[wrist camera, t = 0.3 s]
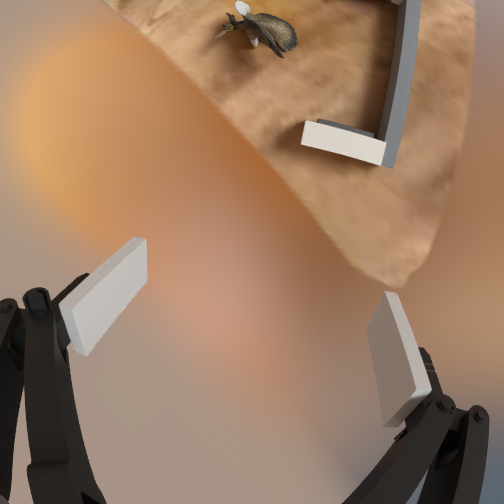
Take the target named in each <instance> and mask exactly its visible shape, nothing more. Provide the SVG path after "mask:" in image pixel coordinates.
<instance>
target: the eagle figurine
mask: <svg viewBox="0 0 504 504" xmlns="http://www.w3.org/2000/svg"><path fill="white" fill-rule="evenodd" d="M235 9H236V10H237V11H238V12H239V13H240V14H241V15H242V16H243V19H244V21H240V22H235V19H234V15H230V14H229V13H226V15H228V17H229V19H230V24H223V25H222V26H223V28H224V29H223V30H222V31H221V32H220V33H219V34H218V35H216V36H215V37H214V39H217V38H220V37H221V36H223V35H224V34H225V33H227V32H230V31H232V30H237V29H243V30H245V31H246V35H247V37H248V38H249V40H250V41H251V43H252V45H253V49H255V48H256V47H257V45H258V38H259V39H261V40H262V41H263V42H264V43H265V44H266V45H267V46H269V47H270V48H271V49H272V50H273V51H274V53H275V54H276V55H277V56H279V57H281V58H284V57H283V55H282V53H281V52H280V50H279V49H277V47H276V44H275V41H276V42H277V43H278V44H279V46H281V47H282V49H283V50H285V51H288V50H292V48H296V45H298V42H297V40H298V38H297V37H296V36H295V35H296V33H295V32H294V31H295V29H294V28H293V27H292V26H291V25H290V24H289V23H288V22H286V21H284V20H282V19H279V18H277V17H275V16H272V15H270V14H264V13H259V14H256V15H252V14H251V13H250V7H249V6H248V5H247V4H245V3H243V2H242V1H236V2H235ZM274 40H275V41H274Z"/></svg>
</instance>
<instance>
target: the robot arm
mask: <svg viewBox="0 0 504 504" xmlns="http://www.w3.org/2000/svg"><path fill="white" fill-rule="evenodd" d="M146 249H147V248H146V239H144V238H140V237H133V238H132V239H131V240H130V241H129V242H127V243H126V244H125V245H124V246H122V247H121V248H120V249H119V250H118V251H117V252H115V253H114V254H113V255H112V256H111V257H109V258H108V259H107V260H106V261H105V262H104V263H102V264H101V265H100V266H99V267H98V268H97V269H96V270H95V271H93V272H92V273H91V274H88V273H85V274H83V275H81V276H79V277H77V278H76V279H75V280H74V281H73V282H72V283H71V284H70V285H68V286H67V287H66V289H64V290H63V291H62V292H61V293H59V294H58V295H57V296H56V297H55V298H54V299H53V300H52V301H51V299H50V296H49V292H48V291H47V290H46V289H45V288H42V287H39V288H33V289H31V290H29V291H27V292H26V293H25V294H24V296H23V298H22V299H23V302H24V305H25V308H26V309H21V308H19V307H18V305H17V302H16V300H14V299H11V298H7V299H3V300H2V301H0V504H9V503H8V501H9V497H10V491H11V482H12V465H13V451H14V442H15V433H16V426H17V418H18V413H19V408H20V402H21V397H22V392H23V387H24V390H25V410H26V422H27V432H28V440H29V447H30V453H31V464H29V465H28V466H27V477H28V481H29V486H30V490H31V495H32V499H33V502H34V504H106V501H105V499H104V496H103V494H102V492H101V491H100V489H99V488H98V486H97V484H96V481H95V479H94V476H93V473H92V469H91V466H90V463H89V460H88V456H87V453H86V449H85V446H84V441H83V438H82V433H81V429H80V425H79V420H78V415H77V411H76V406H75V400H74V394H73V388H72V382H71V374H70V366H69V357H68V351H67V348H66V347H67V346H68V344H69V343H70V342H71V344H72V348H73V350H74V351H75V352H77V353H79V354H81V355H83V356H86V357H87V355H88V354H89V353H90V352H91V350H92V349H93V348H94V346H95V345H96V344H97V342H98V341H99V340H100V338H101V337H102V336H103V335H104V333H105V332H106V331H107V330H108V328H109V327H110V326H111V324H112V323H113V322H114V321H115V320H116V318H117V317H118V316H119V315H120V313H121V312H122V311H123V310H124V308H125V307H126V306H127V305H128V304H129V302H130V301H131V300H132V299H133V297H134V296H135V295H136V294H137V293H138V291H139V290H140V289H141V288H142V286H143V285H144V284H145V283H146V282H147V252H146V251H147V250H146ZM366 330H367V335H368V340H369V344H370V350H371V355H372V360H373V365H374V371H375V376H376V382H377V388H378V395H379V401H380V408H381V415H382V423H383V427H398V426H399V425H400V424H401V423H402V422H403V421H404V420H405V423H406V427H405V429H403V430H402V431H401V432H400V433H399V434H398V435H397V436H396V437H395V438H394V439H395V442H394V443H393V444H392V446H391V447H390V448H389V450H388V451H387V452H386V454H385V455H384V456H383V458H382V459H381V460H380V461H379V463H378V464H377V465H376V466H375V467H374V469H373V470H372V471H371V472H370V473H369V475H368V476H367V477H366V478H365V479H364V480H363V482H362V483H361V484H360V485H359V486H358V487H357V488H356V489H355V490H354V492H353V493H352V494H351V495H350V496H349V497H348V498H347V499H346V500H345V501H344V502H343V503H342V504H406V503H407V501H408V500H409V498H410V497H411V495H412V494H413V492H414V491H415V489H416V488H417V486H418V484H419V483H420V481H421V480H422V478H423V476H424V475H425V473H426V471H427V470H428V472H427V476H426V479H425V482H424V485H423V488H422V491H421V494H420V497H419V499H418V502H417V504H478V503H479V499H480V494H481V489H482V484H483V477H484V472H485V465H486V457H487V448H488V436H489V415H488V413H487V412H486V410H485V409H484V408H483V407H481V406H479V405H475V406H472V407H471V408H470V410H469V411H464V410H461V409H458V408H456V405H455V403H454V401H453V400H452V399H451V398H450V397H449V396H447V395H445V394H443V393H442V389H441V386H440V384H439V380H438V377H437V374H436V372H435V369H434V366H433V365H432V364H433V363H432V360H431V358H430V355H429V354H428V353H427V352H426V350H425V349H424V348H421V347H418V346H417V343H416V341H415V338H414V335H413V333H412V330H411V328H410V325H409V322H408V320H407V317H406V315H405V312H404V310H403V308H402V306H401V303H400V300H399V298H398V295H397V294H396V293H392V292H387V291H384V293H383V296H382V298H381V300H380V302H379V304H378V306H377V309H376V311H375V313H374V315H373V317H372V319H371V321H370V323H369V325H368V327H367V329H366ZM428 468H429V469H428Z"/></svg>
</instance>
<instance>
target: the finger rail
mask: <svg viewBox="0 0 504 504" xmlns="http://www.w3.org/2000/svg"><path fill="white" fill-rule="evenodd" d="M385 1H388V2H391V3H394V4H396V5H399V6H398V16H397V26H396V34H395V42H394V50H393V56H392V63H391V69H390V75H389V81H388V87H387V92H386V97H385V103H384V108H383V112H382V117H381V122H380V126H379V131H378V135H377V139H374V138H373V137H374V134H373V133H370V132H367V131H364V130H360V129H357V128H353V127H350V126H346V125H343V124H339V123H335V122H331V121H327V120H323V119H317V123H316V122H311V121H307V120H305V124H304V129H303V134H302V139H301V145H306V146H310V147H314V148H318V149H322V150H326V151H330V152H334V153H338V154H342V155H345V156H349V157H353V158H356V159H360V160H363V161H366V162H370V163H373V164H376V165H380V166H381V165H382V166H385V167H388V168H391V169H393V167H394V163H395V159H396V156H397V152H398V148H399V143H400V139H401V135H402V131H403V126H404V121H405V117H406V112H407V107H408V102H409V96H410V91H411V85H412V79H413V72H414V66H415V58H416V51H417V42H418V32H419V21H420V6H421V0H385Z"/></svg>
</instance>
